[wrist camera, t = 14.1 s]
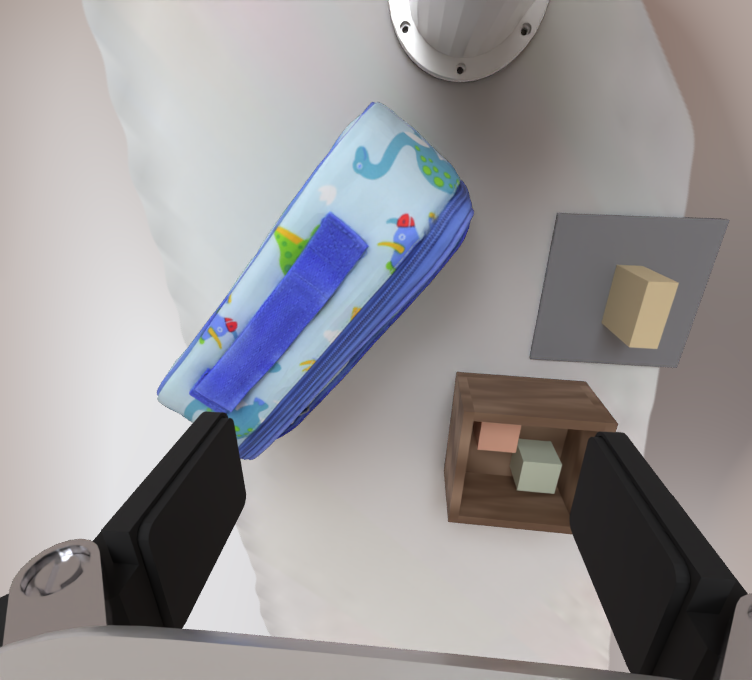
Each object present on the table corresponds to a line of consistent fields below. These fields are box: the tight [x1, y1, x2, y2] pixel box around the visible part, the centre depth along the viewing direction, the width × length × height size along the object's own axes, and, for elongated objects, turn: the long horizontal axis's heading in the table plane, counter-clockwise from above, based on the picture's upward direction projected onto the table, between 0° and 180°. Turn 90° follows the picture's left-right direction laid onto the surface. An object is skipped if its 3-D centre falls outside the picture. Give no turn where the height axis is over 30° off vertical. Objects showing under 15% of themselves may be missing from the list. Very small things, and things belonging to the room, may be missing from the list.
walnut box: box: [444, 372, 618, 534], centre depth 45 cm, size 14×14×8 cm
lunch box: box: [157, 102, 474, 460], centre depth 33 cm, size 26×11×21 cm, turn 140°
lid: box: [530, 213, 729, 368], centre depth 39 cm, size 15×15×7 cm
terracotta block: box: [473, 421, 521, 453], centre depth 45 cm, size 4×4×4 cm
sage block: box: [510, 439, 562, 494], centre depth 47 cm, size 4×4×4 cm
